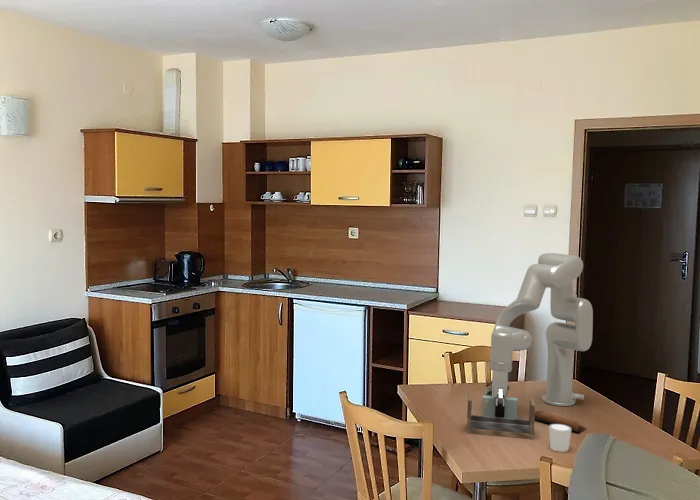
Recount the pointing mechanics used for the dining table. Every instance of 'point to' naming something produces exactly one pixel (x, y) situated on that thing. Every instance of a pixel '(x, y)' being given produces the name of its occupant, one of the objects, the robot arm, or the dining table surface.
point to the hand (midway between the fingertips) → (499, 412)
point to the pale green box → (508, 403)
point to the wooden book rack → (501, 424)
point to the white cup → (559, 437)
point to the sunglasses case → (559, 420)
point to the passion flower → (489, 390)
